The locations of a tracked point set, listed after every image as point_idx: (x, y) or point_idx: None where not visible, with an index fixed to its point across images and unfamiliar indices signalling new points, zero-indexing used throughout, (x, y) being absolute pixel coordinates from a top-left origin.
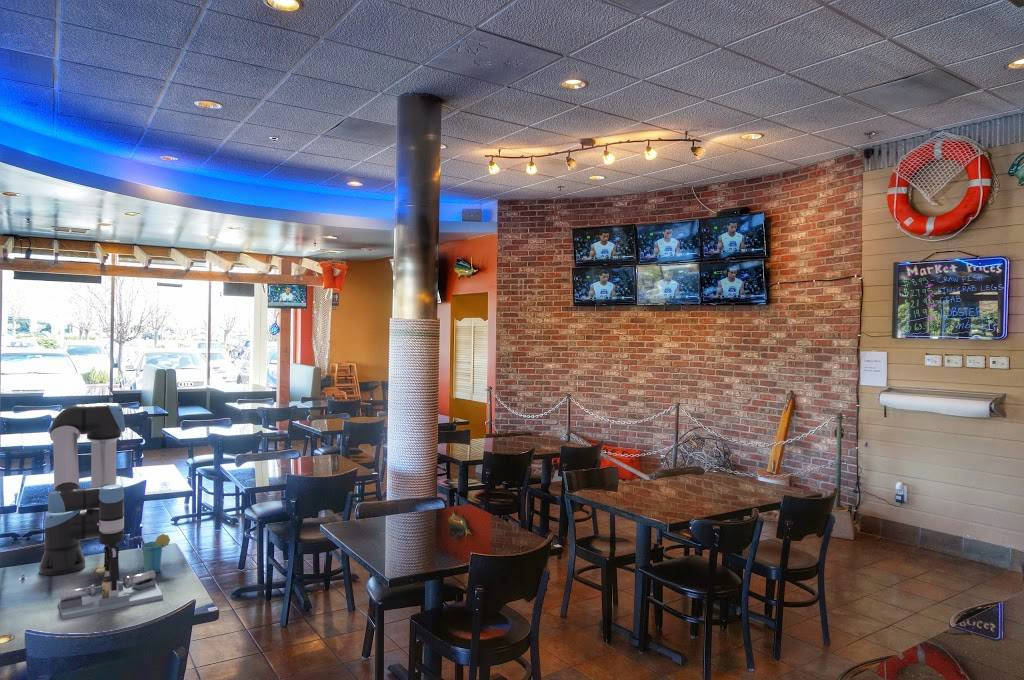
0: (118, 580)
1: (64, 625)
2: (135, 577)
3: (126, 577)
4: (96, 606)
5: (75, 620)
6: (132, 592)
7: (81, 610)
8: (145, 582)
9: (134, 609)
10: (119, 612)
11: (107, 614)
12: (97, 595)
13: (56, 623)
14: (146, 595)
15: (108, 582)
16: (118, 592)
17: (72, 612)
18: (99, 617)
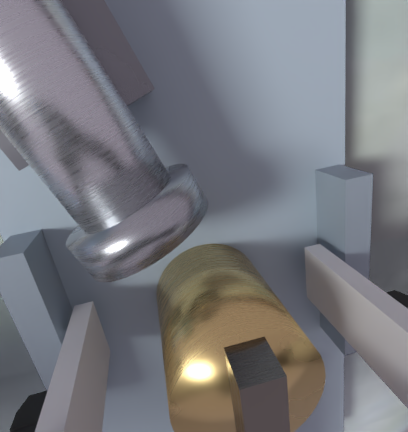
0: (259, 322)
1: (394, 396)
2: (118, 138)
3: (166, 253)
4: (320, 335)
5: (369, 374)
6: (168, 150)
7: (336, 387)
8: (74, 14)
9: (400, 124)
10: (392, 206)
11: (382, 261)
12: (135, 368)
13: (357, 427)
14: (291, 31)
15: (304, 399)
16: (217, 257)
17: (337, 414)
18: (396, 290)
